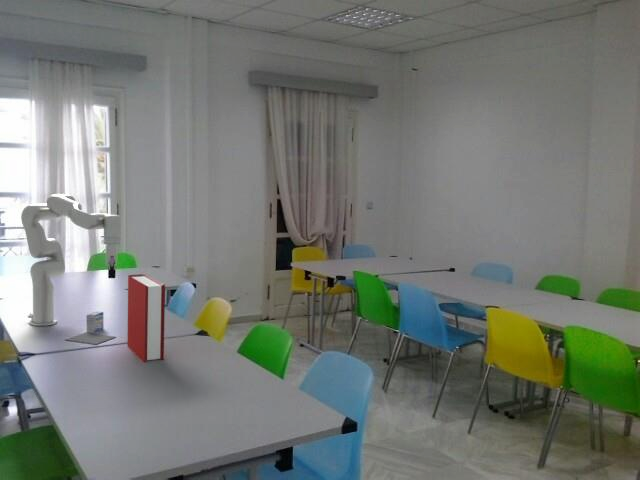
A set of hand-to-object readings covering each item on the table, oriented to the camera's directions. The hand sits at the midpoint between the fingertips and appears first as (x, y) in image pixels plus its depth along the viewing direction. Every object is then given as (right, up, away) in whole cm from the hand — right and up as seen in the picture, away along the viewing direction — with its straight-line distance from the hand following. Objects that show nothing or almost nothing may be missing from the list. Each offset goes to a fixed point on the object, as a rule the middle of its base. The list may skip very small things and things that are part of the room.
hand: (111, 276), depth 286 cm
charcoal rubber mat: (-7, -28, -9) cm, 30 cm away
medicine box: (-10, -27, +6) cm, 29 cm away
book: (+23, -32, -26) cm, 47 cm away
